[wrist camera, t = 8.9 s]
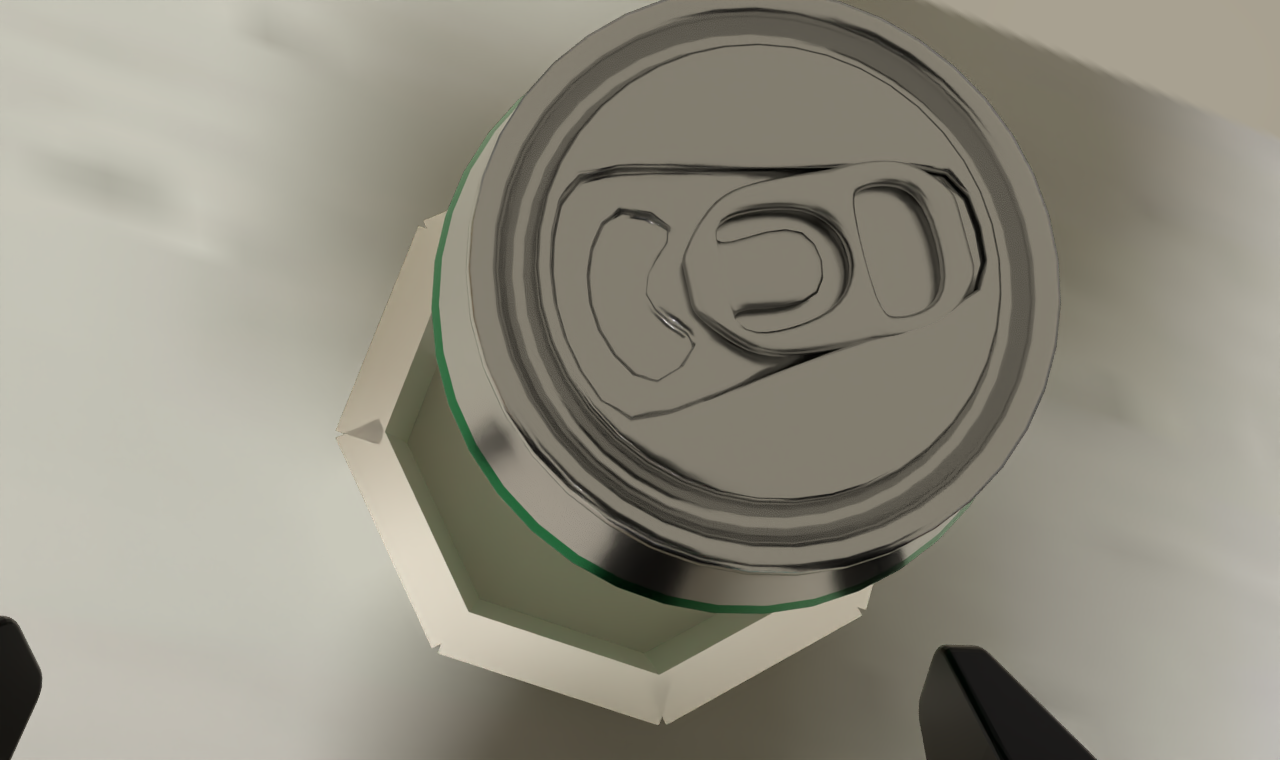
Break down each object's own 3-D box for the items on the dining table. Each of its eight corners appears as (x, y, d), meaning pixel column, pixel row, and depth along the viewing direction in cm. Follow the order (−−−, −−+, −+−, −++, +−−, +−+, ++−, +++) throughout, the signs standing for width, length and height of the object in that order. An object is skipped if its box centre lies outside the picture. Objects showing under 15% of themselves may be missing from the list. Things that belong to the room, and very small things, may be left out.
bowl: (926, 536, 19) (998, 539, 16) (514, 762, 17) (507, 813, 14) (721, 146, 20) (752, 81, 17) (312, 324, 18) (266, 286, 15)
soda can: (482, 337, 18) (351, -21, 6) (713, 295, 18) (1009, -100, 7) (527, 577, 17) (483, 718, 5) (766, 525, 18) (1200, 543, 6)
